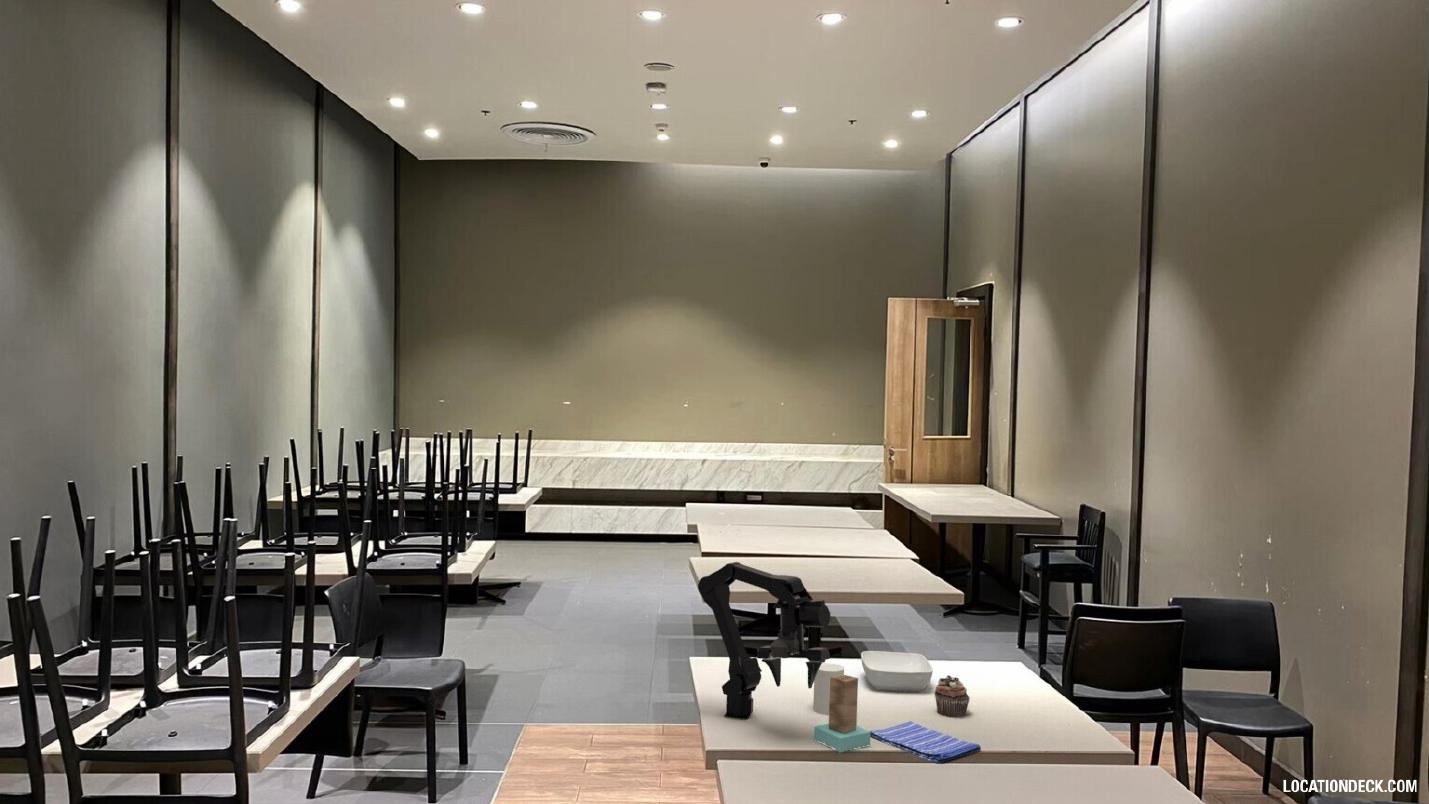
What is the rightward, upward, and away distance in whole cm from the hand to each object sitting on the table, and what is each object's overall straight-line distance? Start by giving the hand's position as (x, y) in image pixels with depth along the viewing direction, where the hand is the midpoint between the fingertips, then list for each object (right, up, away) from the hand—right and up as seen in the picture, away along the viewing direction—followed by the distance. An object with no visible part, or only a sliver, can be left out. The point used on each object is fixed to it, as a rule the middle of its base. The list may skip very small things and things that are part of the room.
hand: (794, 687), depth 273 cm
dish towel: (+33, -14, -4) cm, 36 cm away
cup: (+11, -12, +20) cm, 26 cm away
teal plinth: (+12, -13, -6) cm, 18 cm away
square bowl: (+34, -12, +47) cm, 59 cm away
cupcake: (+46, -13, +21) cm, 52 cm away
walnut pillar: (+12, -9, -6) cm, 16 cm away
